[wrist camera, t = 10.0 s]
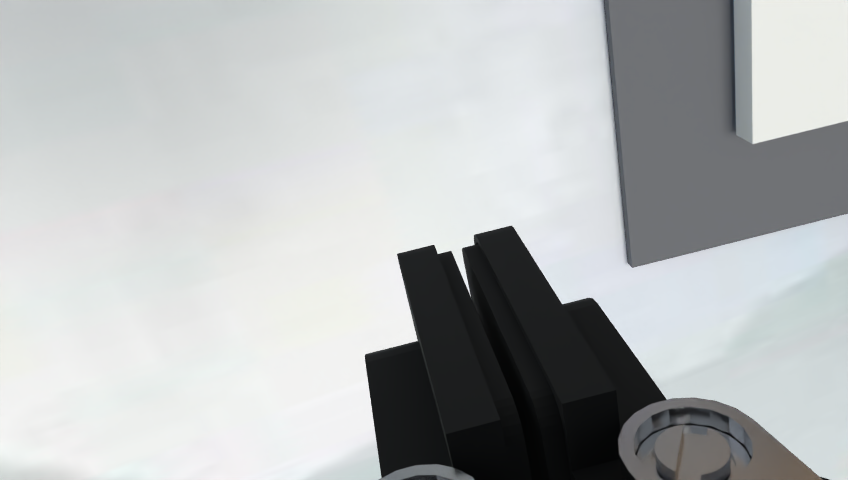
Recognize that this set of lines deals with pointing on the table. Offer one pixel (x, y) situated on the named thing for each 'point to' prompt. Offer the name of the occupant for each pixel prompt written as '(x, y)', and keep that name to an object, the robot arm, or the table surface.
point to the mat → (704, 138)
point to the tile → (789, 66)
